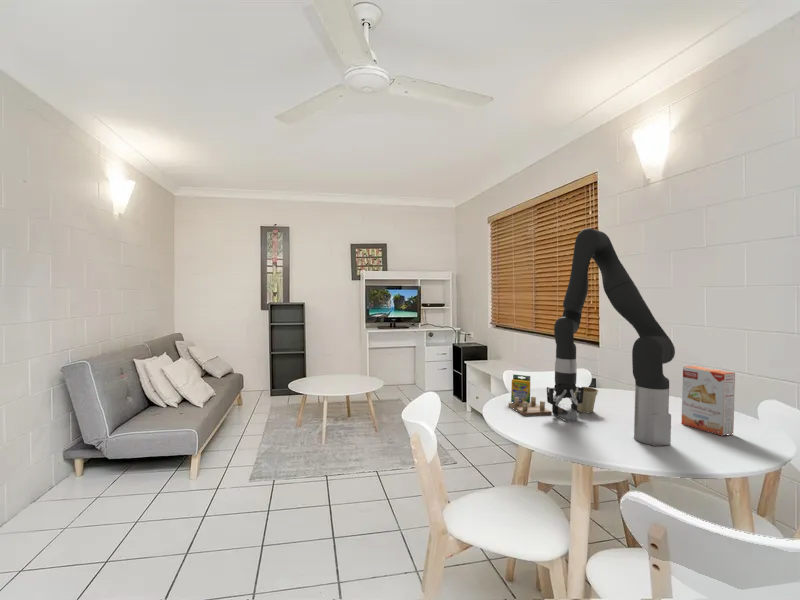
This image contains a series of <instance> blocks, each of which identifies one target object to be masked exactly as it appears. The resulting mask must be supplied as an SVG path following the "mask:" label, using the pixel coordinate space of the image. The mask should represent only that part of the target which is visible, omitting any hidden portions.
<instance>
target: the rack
mask: <svg viewBox="0 0 800 600" xmlns="http://www.w3.org/2000/svg"><path fill="white" fill-rule="evenodd" d="M536 401H537V397H536V396H530V402H523V403H519V398H518V397H515V399H514V403H511V402H508V405H509V406H510V407H509V406H508V407H509V408H511V407H512V408H514V409H515V410H514V409H513V410H514V411H516V410H517V411H519V412H520V413H519V412H518V413H519V414H521V413H522V414H523V415H522V414H521V415H522V416H524V415H536V416H551V415H552V414H553V413H552V410H549V409H548V408H546V401H544V400H540V401H539V404H538V403H537V402H536ZM512 408H511V409H512ZM517 411H516V412H517Z"/></svg>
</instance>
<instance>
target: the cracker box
mask: <svg viewBox="0 0 800 600" xmlns="http://www.w3.org/2000/svg"><path fill="white" fill-rule="evenodd" d="M735 383H736V373H735V372H731V371H727V370H720V369H714V368H710V367H709V368H708V367H702V366H698V365H685V366H683V367H682V390H681V393H682V396H681V425H685V426H687V425H688V427H692V428H694V427H695V429H697V428H698V430H700V429H702V430H701V431H704V430H705V431H704V432H707V431H709V432H708V433H710V432H713V433H716V434H719V435H718V436H720V435H727V434H732V433H733V434H734V421H735V390H736V389H735V388H736V384H735ZM713 433H712V434H713ZM716 434H715V435H716ZM733 434H732V435H733ZM727 436H728V435H727Z"/></svg>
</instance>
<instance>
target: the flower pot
mask: <svg viewBox="0 0 800 600" xmlns="http://www.w3.org/2000/svg"><path fill="white" fill-rule="evenodd" d="M582 387H583V388H584V392H583V402H582V403H579V404H578V405H577V412H578V411H579V412H580V413H585V414H588V413H589V414H590V413H594V409H595V403H596V397H597V396H598V392H599V389H596V388H594V387H588V386H582ZM574 394H575V396H576V394H577V392H576V391H575V392H574Z"/></svg>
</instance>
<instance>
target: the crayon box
mask: <svg viewBox="0 0 800 600" xmlns="http://www.w3.org/2000/svg"><path fill="white" fill-rule="evenodd" d="M512 376H513V377H512V379H511V396H510V403H511V402H513V403H514V399H515V397H518V398H519V403H523V402H531V376H530V375H522V374H512ZM521 377H522V378H521Z"/></svg>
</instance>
